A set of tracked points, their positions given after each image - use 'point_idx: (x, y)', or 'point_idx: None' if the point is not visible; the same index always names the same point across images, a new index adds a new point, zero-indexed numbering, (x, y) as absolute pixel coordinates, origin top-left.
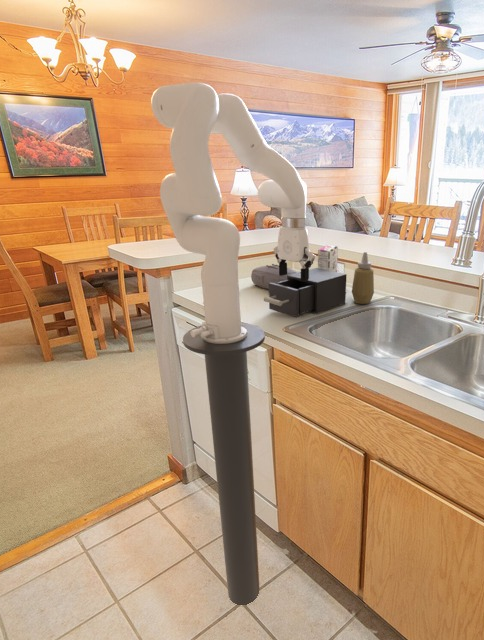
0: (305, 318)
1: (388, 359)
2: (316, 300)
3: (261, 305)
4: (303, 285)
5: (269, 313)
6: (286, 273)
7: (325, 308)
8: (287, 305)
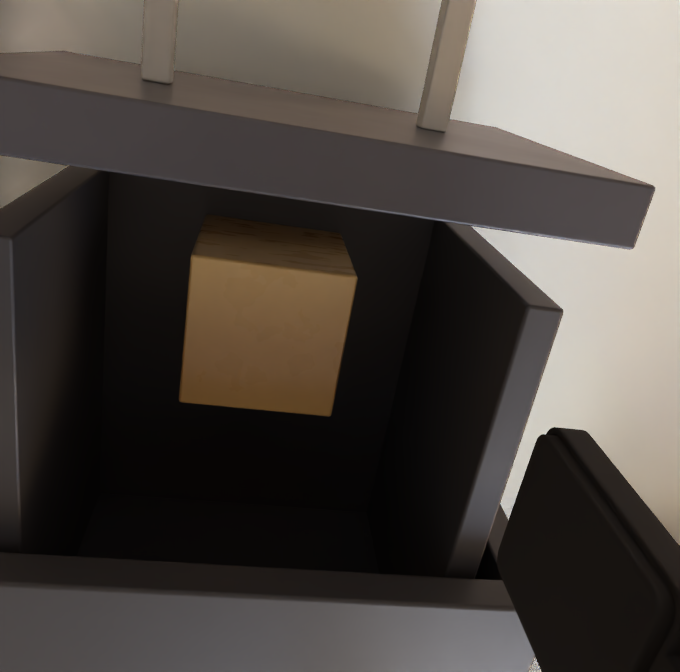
0: (42, 166)
1: None
2: None
3: (653, 240)
4: None
5: None
6: (504, 560)
7: None
8: (197, 82)
